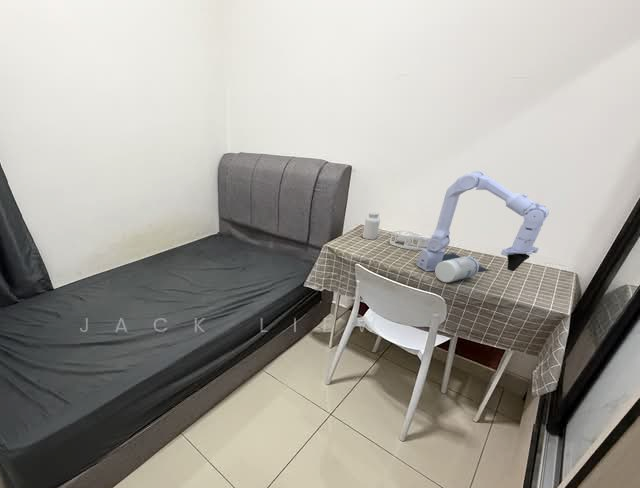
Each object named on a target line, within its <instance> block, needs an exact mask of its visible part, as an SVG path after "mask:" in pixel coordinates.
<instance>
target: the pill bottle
mask: <svg viewBox="0 0 640 488" xmlns="http://www.w3.org/2000/svg"><path fill="white" fill-rule="evenodd" d="M379 215H380V213H379V212H377V211H370V212H369V213H368V216H366V218H365V220H364V224H363V225H364V226H363V230H362V238H363V239H365V240H376V239H377V237H378V232H379V227H380V223H381V219H380V216H379Z"/></svg>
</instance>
